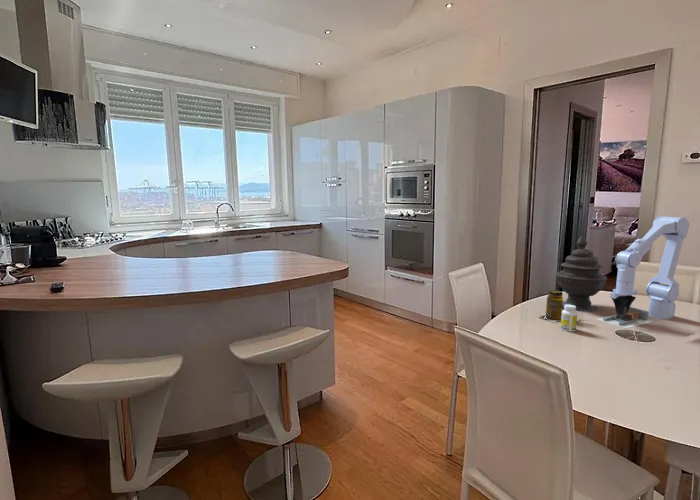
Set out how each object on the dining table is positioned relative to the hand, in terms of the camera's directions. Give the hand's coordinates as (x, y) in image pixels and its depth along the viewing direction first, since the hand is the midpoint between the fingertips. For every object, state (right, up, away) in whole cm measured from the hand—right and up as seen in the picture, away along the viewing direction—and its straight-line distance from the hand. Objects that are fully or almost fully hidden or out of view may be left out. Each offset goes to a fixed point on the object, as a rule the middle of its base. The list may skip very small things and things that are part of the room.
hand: (621, 313), depth 156 cm
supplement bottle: (-25, -6, -5) cm, 26 cm away
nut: (+7, -3, +4) cm, 8 cm away
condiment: (-24, -4, +9) cm, 26 cm away
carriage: (+1, -3, +1) cm, 4 cm away
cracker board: (+3, -5, +2) cm, 6 cm away
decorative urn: (-6, -2, +21) cm, 22 cm away
